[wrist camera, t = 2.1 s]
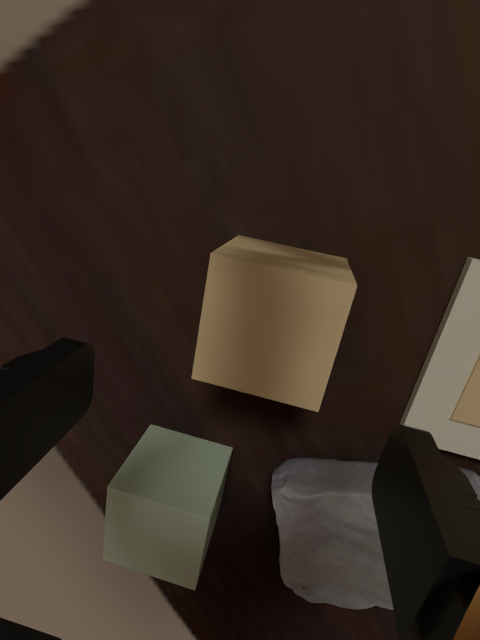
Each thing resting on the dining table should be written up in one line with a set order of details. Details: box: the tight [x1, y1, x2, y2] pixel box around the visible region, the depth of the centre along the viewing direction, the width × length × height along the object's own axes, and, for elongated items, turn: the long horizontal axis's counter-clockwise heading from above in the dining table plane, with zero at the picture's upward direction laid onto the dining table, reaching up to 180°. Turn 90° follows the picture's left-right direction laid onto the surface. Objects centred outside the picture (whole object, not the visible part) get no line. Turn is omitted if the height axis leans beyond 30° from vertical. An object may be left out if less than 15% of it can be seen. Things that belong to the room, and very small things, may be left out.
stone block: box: [271, 458, 480, 610], centre depth 22 cm, size 12×5×10 cm
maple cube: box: [192, 235, 357, 412], centre depth 17 cm, size 6×6×6 cm
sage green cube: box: [103, 425, 233, 590], centre depth 23 cm, size 6×6×6 cm
